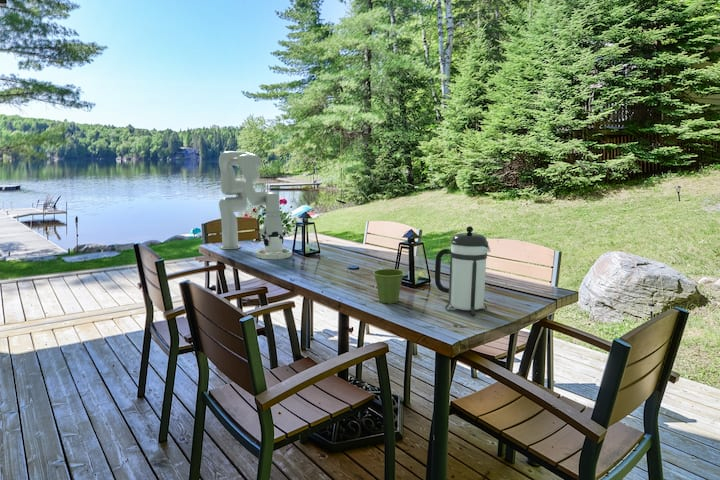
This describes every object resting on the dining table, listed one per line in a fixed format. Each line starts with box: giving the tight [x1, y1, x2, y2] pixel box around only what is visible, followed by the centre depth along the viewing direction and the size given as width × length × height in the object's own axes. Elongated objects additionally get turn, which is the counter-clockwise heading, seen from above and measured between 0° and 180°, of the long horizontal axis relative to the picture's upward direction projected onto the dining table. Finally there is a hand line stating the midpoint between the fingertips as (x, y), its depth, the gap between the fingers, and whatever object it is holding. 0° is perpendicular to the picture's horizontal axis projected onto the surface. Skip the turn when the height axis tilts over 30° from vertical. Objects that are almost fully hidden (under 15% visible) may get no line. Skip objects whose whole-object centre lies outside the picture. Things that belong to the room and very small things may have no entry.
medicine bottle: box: [264, 232, 283, 253], centre depth 247 cm, size 7×7×12 cm
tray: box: [255, 247, 293, 260], centre depth 248 cm, size 20×20×3 cm
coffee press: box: [434, 225, 491, 317], centre depth 153 cm, size 17×16×30 cm
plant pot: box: [372, 268, 406, 304], centre depth 163 cm, size 12×12×11 cm
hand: (273, 244), depth 247 cm, fingers closed on medicine bottle, 8 cm apart
